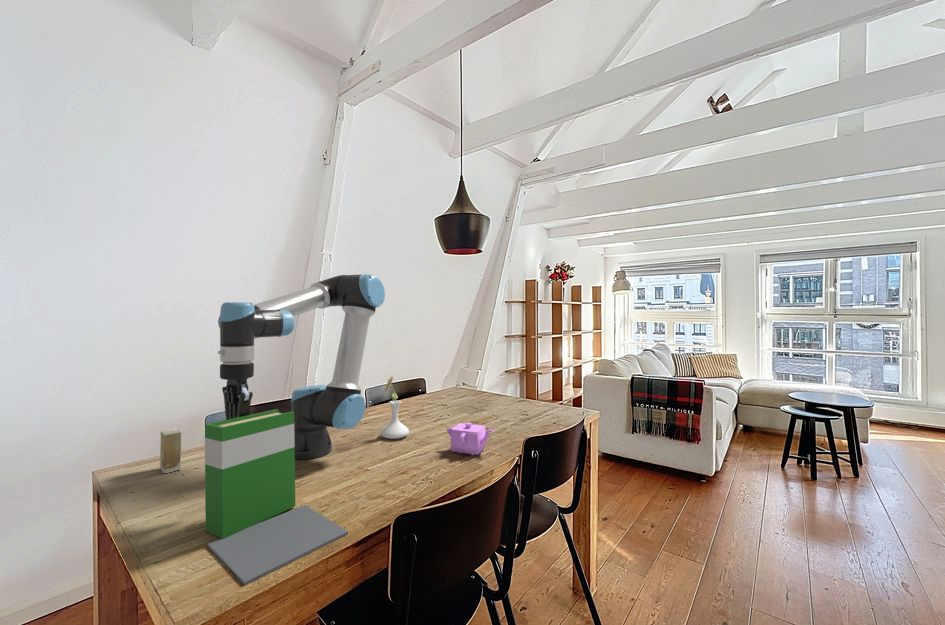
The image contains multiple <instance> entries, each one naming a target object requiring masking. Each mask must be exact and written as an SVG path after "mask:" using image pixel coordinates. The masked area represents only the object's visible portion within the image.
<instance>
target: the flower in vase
mask: <svg viewBox="0 0 945 625" xmlns="http://www.w3.org/2000/svg"><path fill="white" fill-rule="evenodd" d="M394 377H395V376H394V375H390V378H388V379H387V383H386V384H384V388H383V390H382V394H386V393H387V391H388V390H389V389H390V387H391V389H392V391H393V393H391V398H392V400H391V401H388V404H389V405H390V409H391V420H390V422H388V423H387V424H386V425H385V426H384V427H382V429H381V430H380V432H379V433H380V436H381V437H383V438H386V439H392V440H393V439H396V440H397V439H401V438H404V437H406V436H408V435H409V434H410V430H409V428H408V427H407V426H406V425H404V424H403V423H402V422H400V420H399V407H400V405H401V403H402V401H401V400H397V399H398V398H399V396H398V395H397V393H396V391H395V390H394V388H393V385H392V383H393V381H394Z"/></svg>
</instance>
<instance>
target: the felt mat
mask: <svg viewBox="0 0 945 625" xmlns="http://www.w3.org/2000/svg"><path fill="white" fill-rule="evenodd" d="M347 535H349V531H348V530H347V529H345V528H343V527H342V526H340V525H339V524H337V523H336V522H334V521H332V520H330V519H329V518H327V517H325V515H323V514H320V513H319V512H318V511H316V510H315V509H313V508H312V507H309V506H308V505H306V504H304V505H301V506H299V507H296V508H293V509H292V510H289V511H285V512H282V513H280V514H277V515H275V516H273V517H270V518H268V519H266V520H264V521H261V522H259V523H257V524H255V525H253V526H250V527H248V528H246V529H244V530H241V531H239V532H237V533H235V534H233V535H230V536H228V537H226V538H224V539H222V538H220V537H219V538H217V539H216V540H213V541H210V542H207V544H206V545H207V548H208V549H209V550H210V551H211V552H213V554H214V555H215V556H216V557H217V558H218V559H219V560H220V561H221V562H222V563H223V564H224V566H226V568H227V569H228V568H229V569H230V570H231V571H232V572H233V573H234V574H235V575H234V574H233V573H232V572H231V571H230V570H229V569H228V570H229V571H230V572H231V573H232V574H233V575H234V576H235V578H237V579H238V580H239V582H240V583H242V585H244V586H247V585H249V584H251V583H253V582H255V581H257V580H258V578H259V579H261V578H263V577H265V576H266V575H268V574H271V573H273V572H275V571H277V570H279V569H281V568H282V567H285V566H287V565H289V564H291V563H293V562H295V561H297V560H299V559H301V558H303V557H305V556H307V555H309V554H311V553H313V552H315V551H317V550H319V549H321V548H323V547H325V546H327V545H330V543H333V542H335V541H337V540H339V539H342V538H344V537H345V536H347ZM250 582H251V583H250ZM248 583H249V584H248ZM246 584H247V585H246Z"/></svg>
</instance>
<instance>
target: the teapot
mask: <svg viewBox="0 0 945 625" xmlns="http://www.w3.org/2000/svg"><path fill="white" fill-rule="evenodd" d="M493 431H495V429H492V428H489V429H487V430H486V426H485V425H483V424H482V425H481V424H480V425H479V424H473V423H471V422H466V423H461V422H459V423H458V424H456V425H455V426H452V427H448V428H447V429H446V433H447V434H448V436H449V437H450V452H454V453H457V452H458V453H461V454H467V455H470V454H475V455H474V456H477V455H479V454H480V453H481V452H482V451H483V450H484V448H485V447H486V443H487V441H488V439H489V435H490V434H491V433H492V432H493ZM458 453H457V454H458Z"/></svg>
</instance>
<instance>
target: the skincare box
mask: <svg viewBox="0 0 945 625" xmlns="http://www.w3.org/2000/svg"><path fill="white" fill-rule="evenodd" d="M159 445H160V446H159V447H160V449H159V450H160V455H159V456H160V459H159V460H160V461H159V468H160V471H161V470H162V471H161V472H162V473H168V472H172V473H174V472H173V471H176V472H178V471H177V470H180V471H181V470H182V469H181V468H182V466H181V463H182V462H181V461H182V458H181V457H182V451H181V450H182V431H180V430H179V429H178V428H177V427H174V428H168V429H163V430H160V444H159ZM168 474H169V473H168Z"/></svg>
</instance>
